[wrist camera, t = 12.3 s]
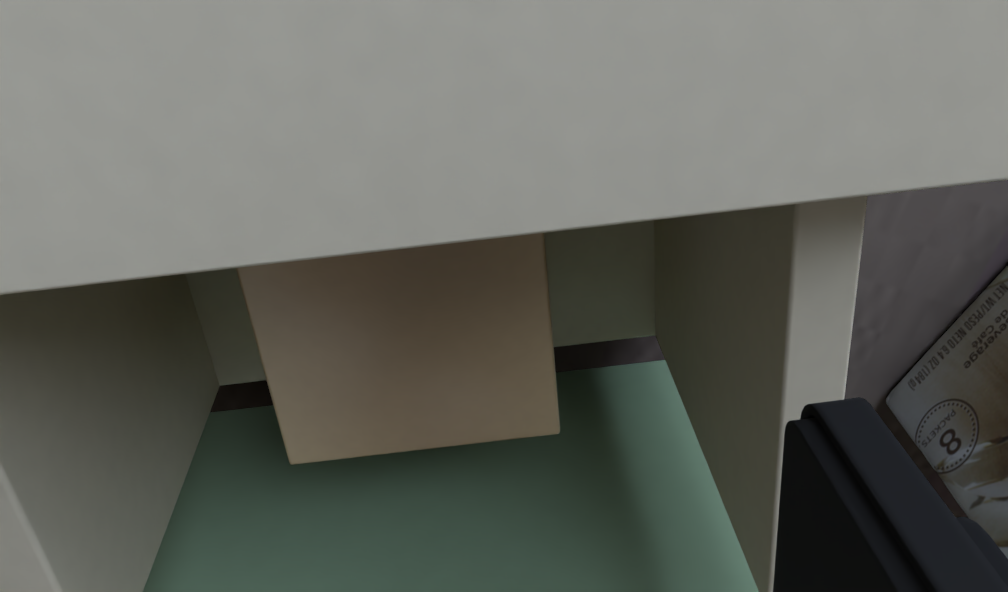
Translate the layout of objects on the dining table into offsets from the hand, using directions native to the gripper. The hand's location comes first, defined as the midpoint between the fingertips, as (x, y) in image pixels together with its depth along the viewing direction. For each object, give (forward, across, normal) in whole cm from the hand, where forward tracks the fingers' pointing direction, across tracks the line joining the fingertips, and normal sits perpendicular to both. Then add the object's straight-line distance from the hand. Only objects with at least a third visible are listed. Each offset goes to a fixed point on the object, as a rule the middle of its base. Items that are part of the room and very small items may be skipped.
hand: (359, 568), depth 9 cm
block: (+9, 0, 0) cm, 9 cm away
